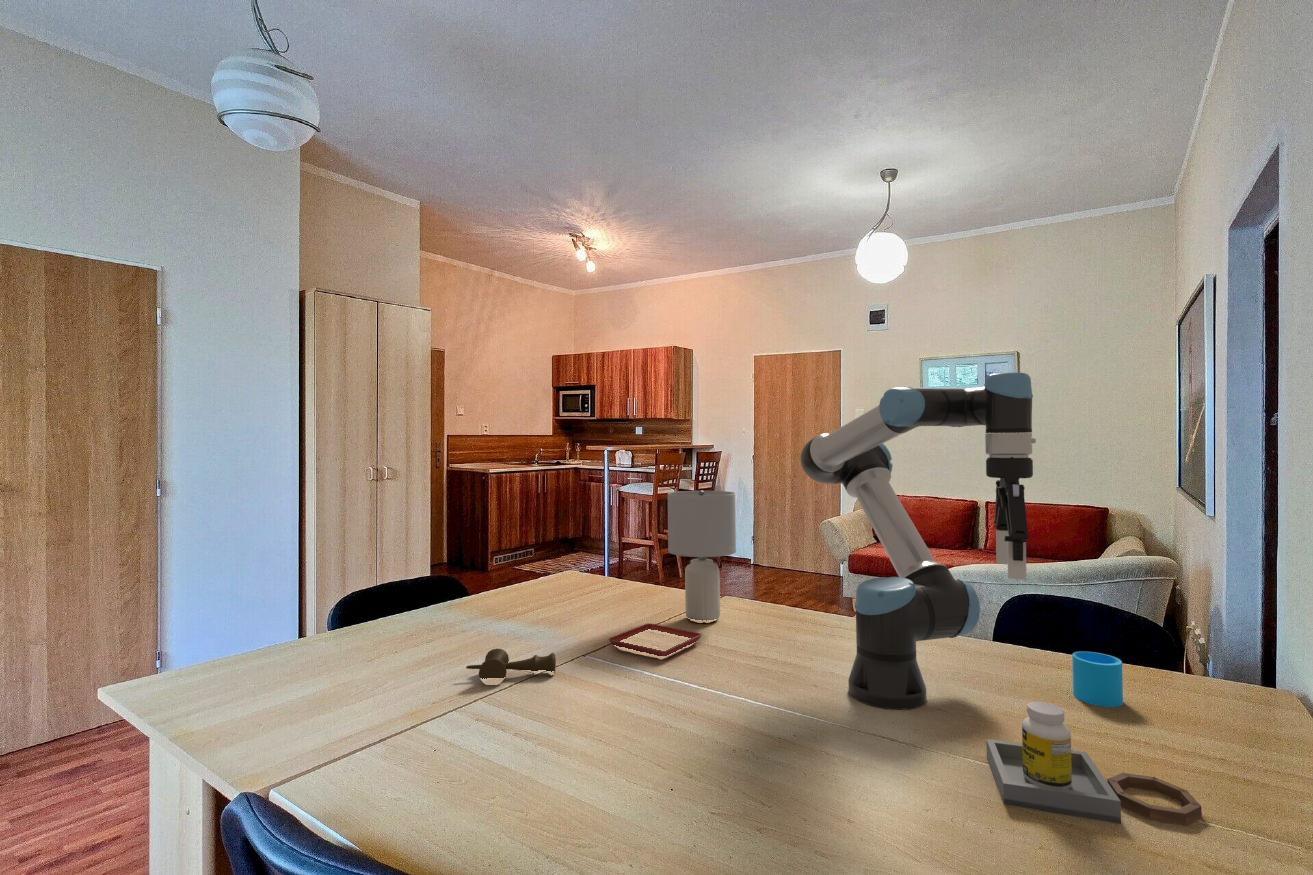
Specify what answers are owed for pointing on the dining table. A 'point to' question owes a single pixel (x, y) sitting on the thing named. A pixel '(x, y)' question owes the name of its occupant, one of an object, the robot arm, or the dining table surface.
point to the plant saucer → (679, 632)
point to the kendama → (511, 664)
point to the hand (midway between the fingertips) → (1010, 571)
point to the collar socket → (1154, 812)
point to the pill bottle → (1046, 746)
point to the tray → (1081, 800)
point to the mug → (1097, 679)
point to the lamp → (702, 544)
